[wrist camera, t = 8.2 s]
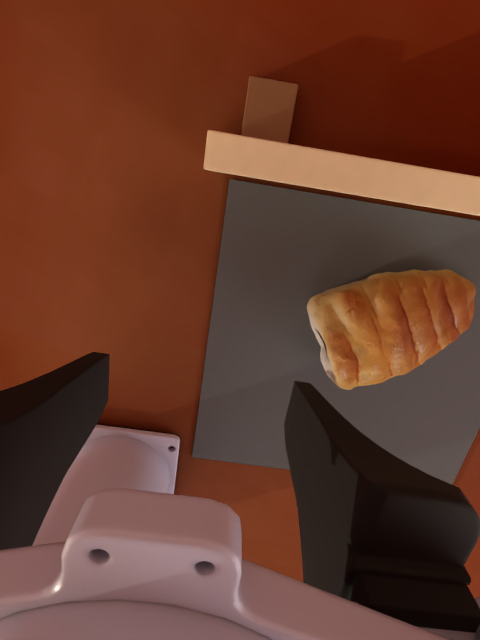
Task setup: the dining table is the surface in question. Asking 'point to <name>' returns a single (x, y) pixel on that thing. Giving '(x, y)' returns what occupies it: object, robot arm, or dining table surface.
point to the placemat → (300, 341)
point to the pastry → (389, 323)
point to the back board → (326, 159)
